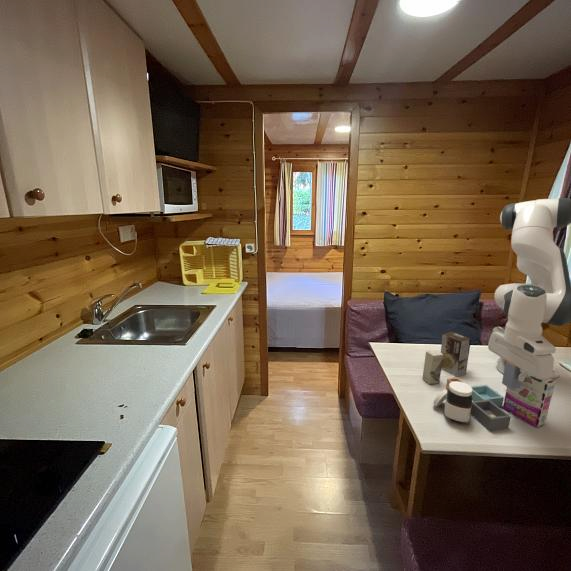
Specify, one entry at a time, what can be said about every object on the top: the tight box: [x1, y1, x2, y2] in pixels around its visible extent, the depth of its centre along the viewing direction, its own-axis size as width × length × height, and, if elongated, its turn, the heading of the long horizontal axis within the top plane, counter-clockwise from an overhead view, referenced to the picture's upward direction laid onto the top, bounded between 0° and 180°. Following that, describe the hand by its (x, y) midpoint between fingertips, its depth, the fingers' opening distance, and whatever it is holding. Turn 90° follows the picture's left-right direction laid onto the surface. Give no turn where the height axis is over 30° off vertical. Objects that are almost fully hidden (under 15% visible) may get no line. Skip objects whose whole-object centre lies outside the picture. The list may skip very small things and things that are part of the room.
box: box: [422, 349, 443, 385], centre depth 126 cm, size 5×4×13 cm
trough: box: [470, 384, 505, 408], centre depth 114 cm, size 8×8×4 cm
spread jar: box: [432, 381, 473, 424], centre depth 106 cm, size 12×11×12 cm
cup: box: [445, 377, 465, 390], centre depth 119 cm, size 4×4×5 cm
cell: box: [501, 360, 522, 389], centre depth 101 cm, size 4×4×10 cm
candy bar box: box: [502, 374, 556, 428], centre depth 104 cm, size 11×5×16 cm, turn 24°
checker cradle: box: [470, 400, 512, 432], centre depth 104 cm, size 7×10×4 cm
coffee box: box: [440, 331, 472, 377], centre depth 133 cm, size 9×6×16 cm
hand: (513, 375), depth 101 cm, fingers closed on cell, 3 cm apart
